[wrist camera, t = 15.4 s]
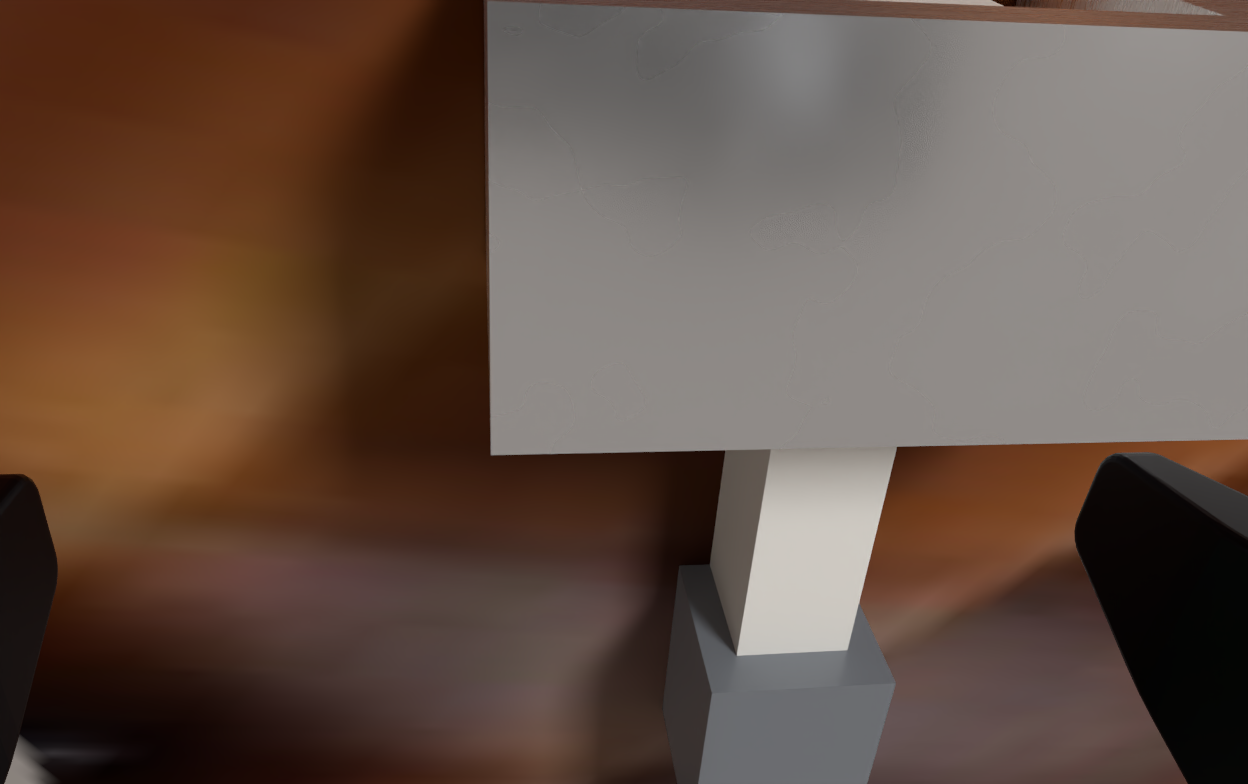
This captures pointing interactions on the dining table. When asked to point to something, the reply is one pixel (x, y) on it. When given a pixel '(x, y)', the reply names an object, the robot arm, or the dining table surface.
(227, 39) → the dining table surface
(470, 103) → the dining table surface
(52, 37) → the dining table surface
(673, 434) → the block
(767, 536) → the cable plug
